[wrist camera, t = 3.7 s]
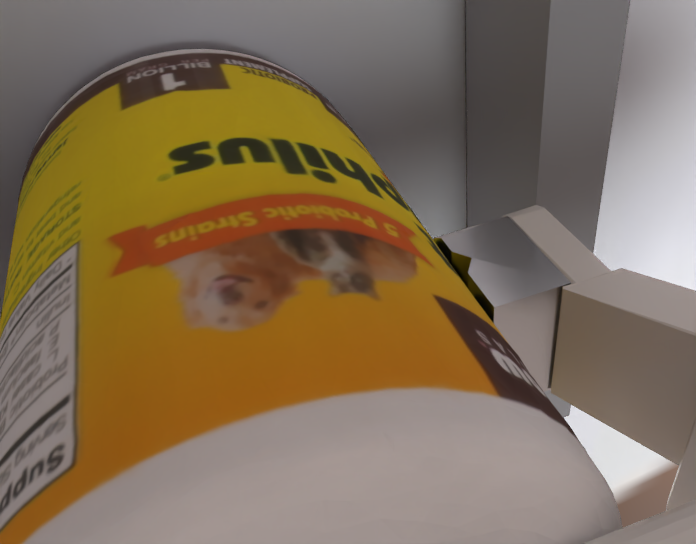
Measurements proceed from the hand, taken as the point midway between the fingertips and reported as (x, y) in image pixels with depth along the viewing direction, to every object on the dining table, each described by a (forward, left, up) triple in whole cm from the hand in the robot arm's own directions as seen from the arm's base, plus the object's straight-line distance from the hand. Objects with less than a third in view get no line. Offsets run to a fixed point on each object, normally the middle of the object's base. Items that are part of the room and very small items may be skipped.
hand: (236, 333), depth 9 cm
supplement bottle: (0, 0, -4) cm, 4 cm away
